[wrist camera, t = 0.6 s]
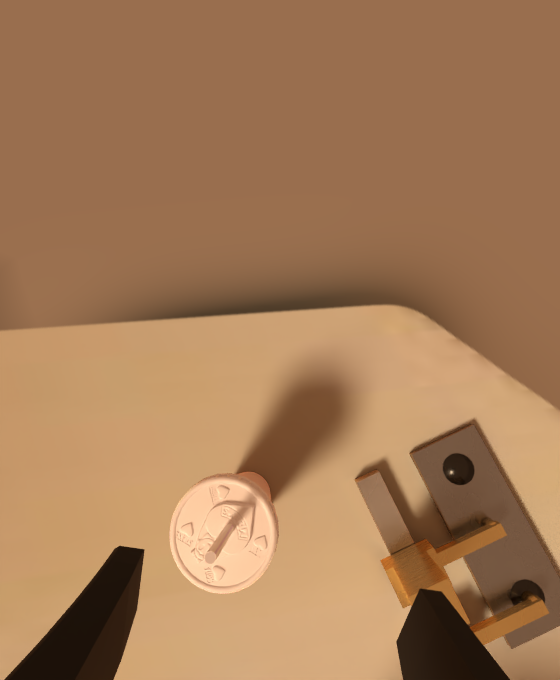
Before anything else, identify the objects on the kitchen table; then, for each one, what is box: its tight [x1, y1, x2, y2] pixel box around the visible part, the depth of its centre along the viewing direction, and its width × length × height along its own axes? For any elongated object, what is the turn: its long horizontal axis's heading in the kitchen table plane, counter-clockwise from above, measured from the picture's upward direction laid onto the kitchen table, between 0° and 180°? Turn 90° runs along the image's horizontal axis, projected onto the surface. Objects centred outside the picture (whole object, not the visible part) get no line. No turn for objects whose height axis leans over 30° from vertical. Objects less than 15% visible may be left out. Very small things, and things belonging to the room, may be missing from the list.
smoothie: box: [170, 472, 279, 594], centre depth 24 cm, size 6×6×14 cm
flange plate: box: [409, 424, 560, 649], centre depth 29 cm, size 15×6×1 cm, turn 25°
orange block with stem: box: [380, 518, 507, 624], centre depth 25 cm, size 3×9×6 cm, turn 115°
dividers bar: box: [355, 469, 549, 645], centre depth 28 cm, size 15×9×2 cm, turn 25°
